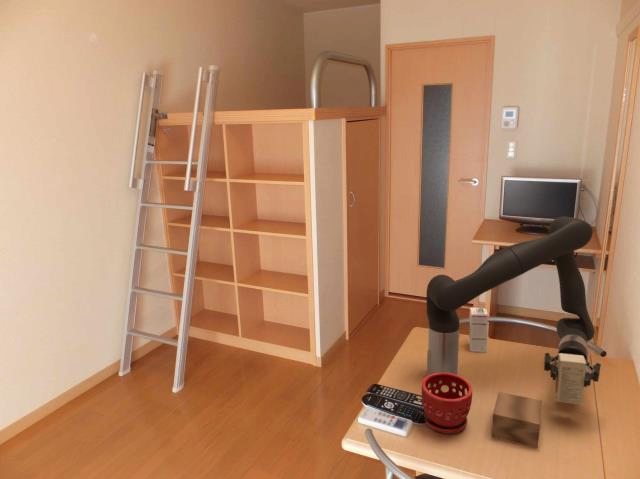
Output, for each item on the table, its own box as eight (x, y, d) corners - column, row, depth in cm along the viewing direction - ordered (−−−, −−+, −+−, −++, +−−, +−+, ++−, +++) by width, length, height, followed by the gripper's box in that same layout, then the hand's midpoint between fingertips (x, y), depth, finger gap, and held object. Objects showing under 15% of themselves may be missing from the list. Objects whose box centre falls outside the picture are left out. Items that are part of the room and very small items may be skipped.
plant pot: (410, 422, 132) (411, 383, 129) (441, 403, 140) (443, 366, 137) (449, 446, 122) (451, 405, 119) (480, 425, 130) (482, 385, 127)
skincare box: (579, 396, 129) (585, 355, 126) (582, 405, 125) (588, 363, 122) (553, 392, 132) (558, 351, 128) (555, 401, 128) (560, 359, 124)
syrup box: (487, 352, 167) (489, 314, 164) (469, 351, 169) (471, 313, 165) (485, 345, 173) (487, 307, 169) (467, 344, 174) (469, 306, 170)
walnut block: (491, 437, 125) (492, 413, 124) (497, 413, 135) (498, 391, 133) (537, 448, 121) (539, 424, 119) (540, 423, 130) (542, 400, 128)
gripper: (546, 335, 141) (541, 360, 127) (603, 345, 134) (604, 374, 120) (544, 358, 143) (538, 386, 129) (599, 369, 136) (600, 400, 122)
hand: (570, 380), depth 125 cm, fingers closed on skincare box, 6 cm apart
